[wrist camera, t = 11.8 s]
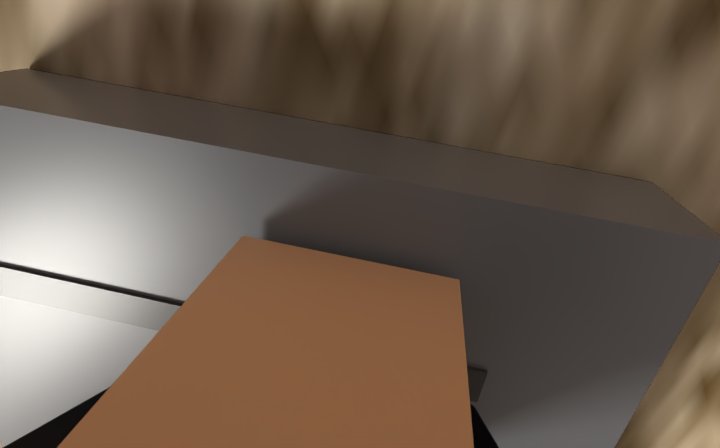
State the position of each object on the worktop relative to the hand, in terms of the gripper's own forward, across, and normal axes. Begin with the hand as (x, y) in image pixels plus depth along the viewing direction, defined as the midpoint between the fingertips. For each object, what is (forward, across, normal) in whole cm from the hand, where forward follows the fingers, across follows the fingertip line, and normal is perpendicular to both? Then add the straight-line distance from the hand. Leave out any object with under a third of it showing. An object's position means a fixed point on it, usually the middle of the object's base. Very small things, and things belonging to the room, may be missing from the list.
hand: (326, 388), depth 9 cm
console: (+4, +1, +5) cm, 7 cm away
